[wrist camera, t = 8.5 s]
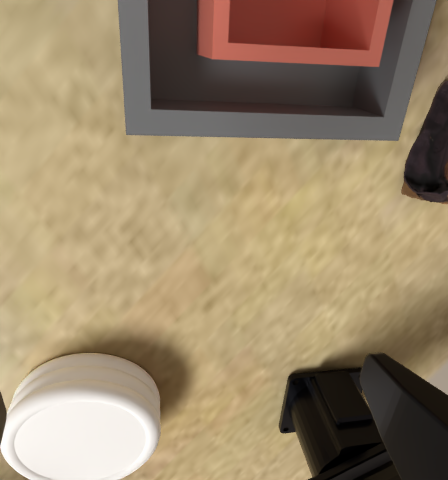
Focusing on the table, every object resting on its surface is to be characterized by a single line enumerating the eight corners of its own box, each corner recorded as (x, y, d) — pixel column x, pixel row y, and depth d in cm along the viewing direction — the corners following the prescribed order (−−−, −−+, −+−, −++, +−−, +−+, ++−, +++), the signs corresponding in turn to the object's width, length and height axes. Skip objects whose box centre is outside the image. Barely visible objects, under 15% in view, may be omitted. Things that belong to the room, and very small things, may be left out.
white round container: (132, 452, 31) (130, 497, 28) (0, 435, 27) (-19, 484, 24) (180, 365, 27) (184, 407, 24) (35, 333, 24) (17, 377, 21)
